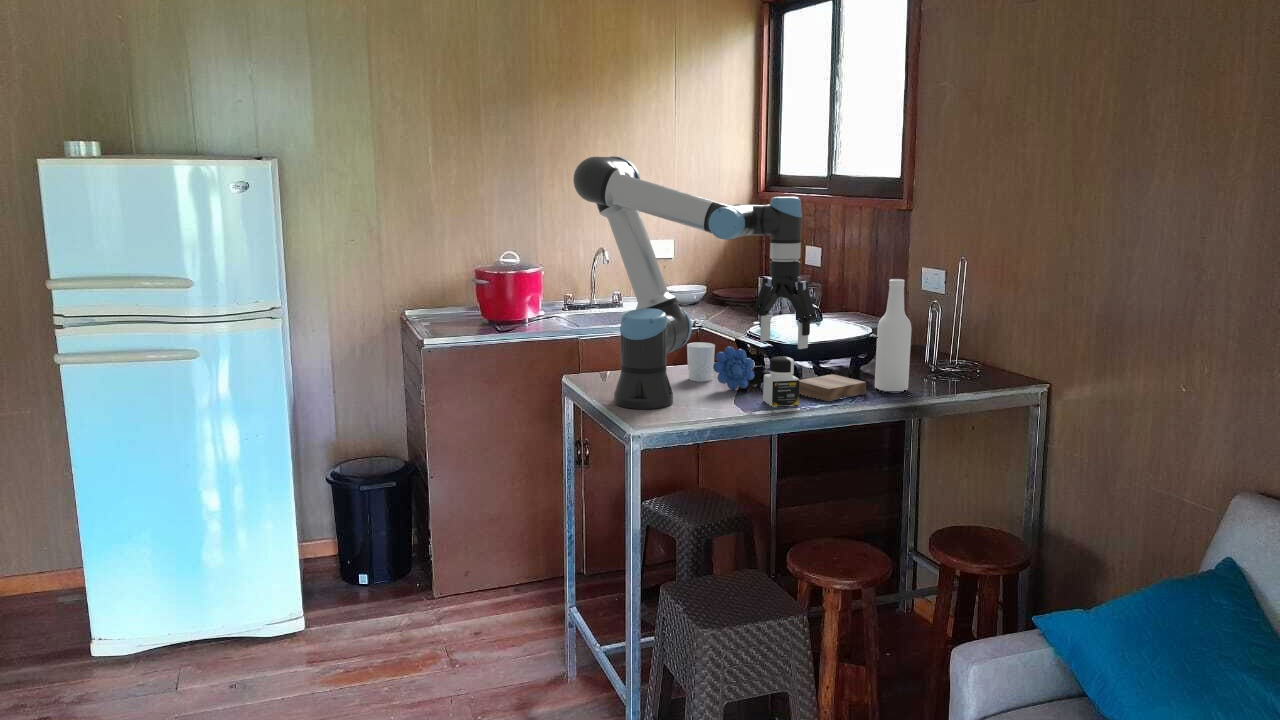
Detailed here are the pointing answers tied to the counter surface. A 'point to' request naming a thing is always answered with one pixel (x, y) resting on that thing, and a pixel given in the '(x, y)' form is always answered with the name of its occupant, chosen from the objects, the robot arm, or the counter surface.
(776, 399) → the medicine bottle
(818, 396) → the base block
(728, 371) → the blue flower
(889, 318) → the alcohol
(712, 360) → the white cup
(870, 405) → the counter surface
